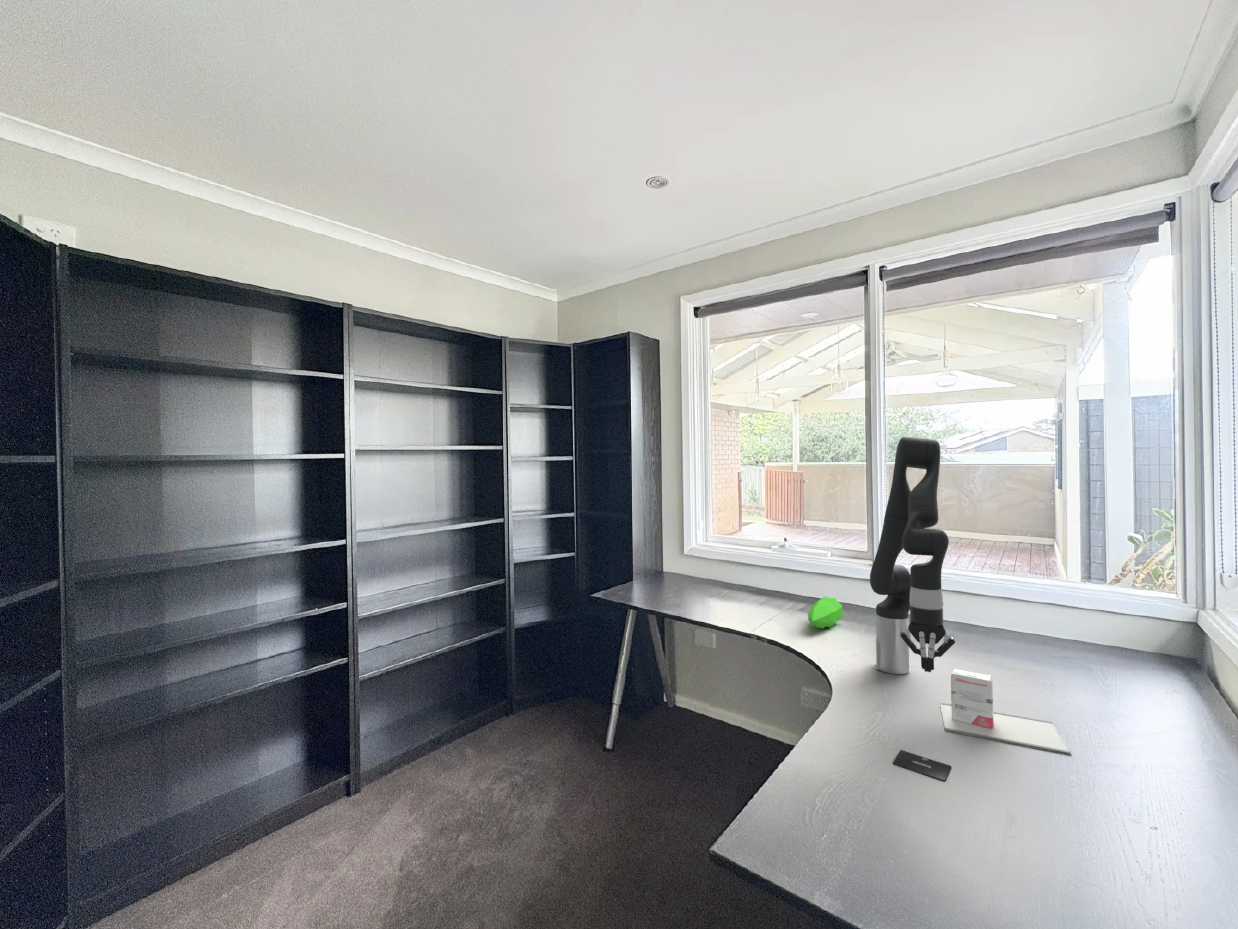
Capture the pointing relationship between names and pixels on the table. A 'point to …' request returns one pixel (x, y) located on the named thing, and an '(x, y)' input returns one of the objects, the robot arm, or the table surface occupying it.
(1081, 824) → the table surface
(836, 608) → the green faceted egg part
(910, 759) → the solid state drive
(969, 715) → the ink box
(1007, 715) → the mat
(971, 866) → the table surface
